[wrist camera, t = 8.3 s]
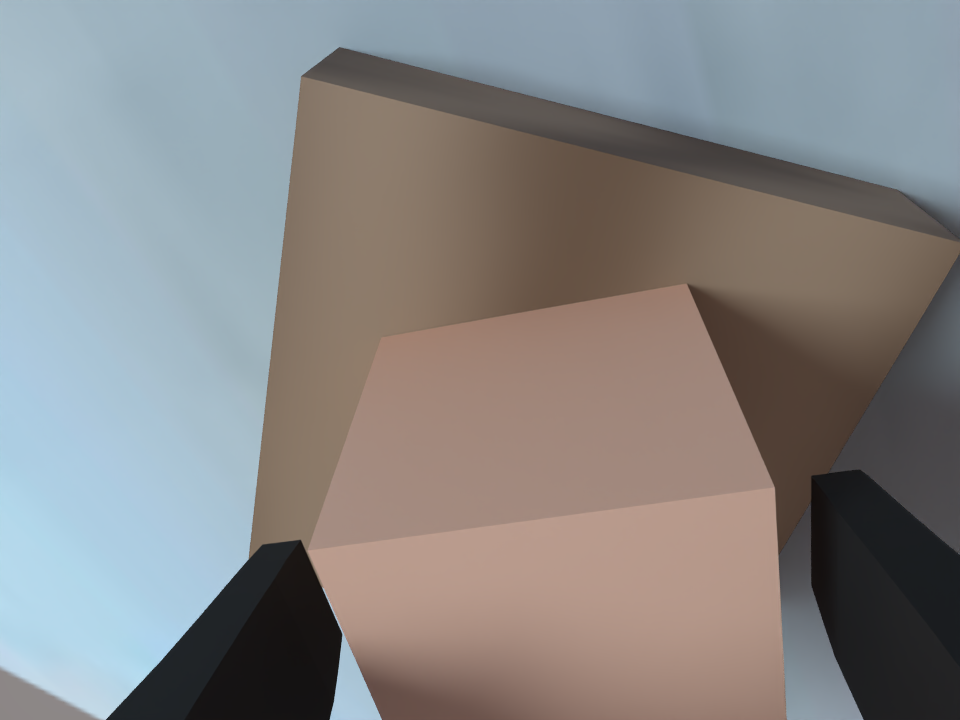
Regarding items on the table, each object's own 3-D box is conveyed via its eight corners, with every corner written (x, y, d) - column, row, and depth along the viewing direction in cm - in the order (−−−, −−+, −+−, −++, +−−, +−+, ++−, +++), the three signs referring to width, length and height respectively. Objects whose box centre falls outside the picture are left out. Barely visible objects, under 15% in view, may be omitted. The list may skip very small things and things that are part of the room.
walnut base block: (886, 180, 14) (966, 243, 12) (686, 564, 19) (710, 667, 17) (345, 42, 13) (301, 76, 11) (286, 478, 18) (247, 572, 16)
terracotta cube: (686, 283, 12) (775, 487, 8) (711, 523, 15) (789, 783, 10) (381, 337, 13) (307, 550, 9) (452, 557, 15) (422, 810, 11)
